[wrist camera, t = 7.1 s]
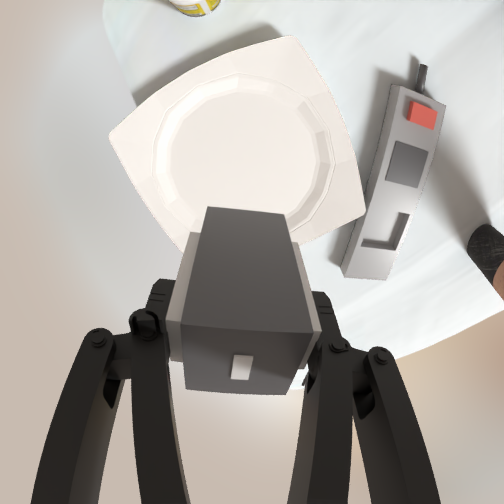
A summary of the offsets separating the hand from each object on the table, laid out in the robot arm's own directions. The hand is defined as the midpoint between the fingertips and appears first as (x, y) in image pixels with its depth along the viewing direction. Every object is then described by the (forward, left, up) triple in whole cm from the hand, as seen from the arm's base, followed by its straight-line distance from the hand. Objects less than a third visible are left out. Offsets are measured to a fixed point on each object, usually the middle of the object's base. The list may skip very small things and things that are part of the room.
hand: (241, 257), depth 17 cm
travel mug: (+5, +42, -19) cm, 46 cm away
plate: (0, 0, -19) cm, 19 cm away
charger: (0, 0, -2) cm, 2 cm away
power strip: (-2, +19, -18) cm, 27 cm away
